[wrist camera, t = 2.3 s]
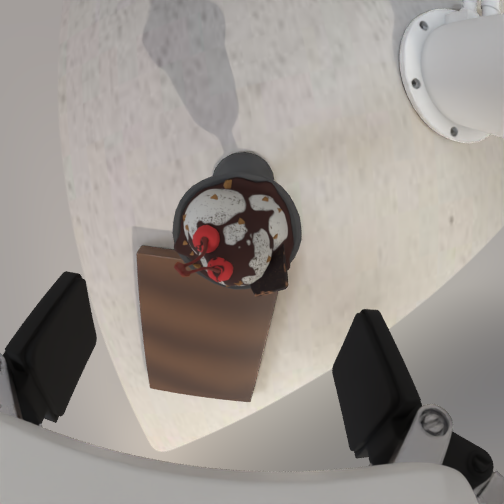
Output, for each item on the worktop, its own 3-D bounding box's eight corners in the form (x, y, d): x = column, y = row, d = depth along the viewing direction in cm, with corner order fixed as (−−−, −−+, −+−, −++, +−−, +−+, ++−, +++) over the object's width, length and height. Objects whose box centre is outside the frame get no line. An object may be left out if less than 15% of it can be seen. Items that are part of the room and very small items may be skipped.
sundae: (194, 149, 23) (120, 223, 10) (279, 137, 23) (314, 197, 10) (209, 224, 27) (169, 355, 13) (287, 214, 26) (318, 344, 13)
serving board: (141, 245, 28) (136, 252, 26) (281, 263, 28) (282, 272, 27) (152, 379, 37) (149, 388, 36) (250, 393, 38) (250, 402, 36)
